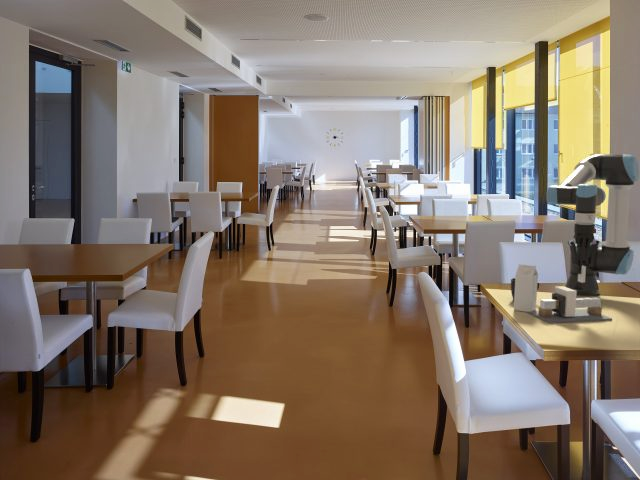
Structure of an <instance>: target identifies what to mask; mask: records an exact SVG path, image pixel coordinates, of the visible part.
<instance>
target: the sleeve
mask: <svg viewBox="0 0 640 480" xmlns="http://www.w3.org/2000/svg"><path fill="white" fill-rule="evenodd" d="M553 293H557V294H560V295H563V296H565V297H566V302H565V315H563V316H565V317H570V316H575V310H576V309H577V308H576V298H577V294H576V293H577V291H576V290H573V289H570V288H567V287H565V285H564V286H563V285H562V286H554V292H553ZM557 299H558V298H557Z"/></svg>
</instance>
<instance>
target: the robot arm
mask: <svg viewBox="0 0 640 480" xmlns="http://www.w3.org/2000/svg"><path fill="white" fill-rule="evenodd" d="M639 175H640V166H639V161H638V158H637V157H636V155H634V154H626V153H621V154H620V153H619V154H618V153H614V154H613V153H612V154H610V153H609V154H607V153H605V154H604V153H598V154H593V155H590V156H588V157H586V158H583V159H582V160H581V161H579V162H578V163H577V164H576V165H575V167H574V168H573V171H572V172H571V173H570V174H569V175H568V176H567V177H566V178H565V179H564V180H563V181H562V182H561V183H560V184H558V185H550V186H548V188H547V191H546V202H547V203H549V204H552V205H565V206H569V205H571V206H575V211H574V212H575V213H574V222H575V223H574V229H573V232H574V236H573V237H572V239H571V240H568V241H567V244H568V246H569V249H570V257H569V258H570V259H569V261H570V262H569V276H568V278H567V279H566V282H565V284H564V287H567V288H570V289H573V290H576V291H577V293H576V296H577V295H580V296H598V294H600V288H599V284H598V280H597V273H603V274H613V275H624V276H625V275H627V274H628V273H629V272H630V270H631V267H632V264H633V261H634V250H632V248H631V246H630V244H629V243H628V241H627V238H628V221H629V205H630V190H631V189H632V188H633V186H634V185H635V182H637V181H638V180H639ZM594 180H596V181H597V180H598V181H605V186H606V187H607V188H608V199H607V214H606V217H607V218H606V229H605V231H606V233H605V241H603V242H602V244H601V246H599V244H600V242H601V241H600V240H598V239H596V238H595V235H594V234H595V232H596V231H595V230H596V229H595V228H596V225H595V223H596V215H597V214H596V212H597V207H598V206H600V205H602V204H603V203H604V202H605V200H606V198H607V195H606V191H605V190H604V189H602V188H601V187H598V186H597V185H596V184H593V183H588V182H592V181H594ZM630 248H631V249H630Z"/></svg>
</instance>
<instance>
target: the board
mask: <svg viewBox="0 0 640 480" xmlns="http://www.w3.org/2000/svg"><path fill="white" fill-rule="evenodd" d="M587 309H588V308H580V309H579V308H576V309H575V316H570V317H565V316H563V315H560V314H558V313H556V312H553V311H552V317H551V318H544V317H542V316H540V315H538V312H539V310H534V311H530V312H528V314H529V315H531V316H533V317H536V318H537V319H540V320H543V321H545V322H546V323H548V324H564V323H566V324H567V323H568V324H569V323H582V322H583V323H584V322H589V321H590V322H606V321H605V320H610V321H613V318H612V317H610V316H607V315H604V314H602V313H601V315H592V314H590V313H587Z"/></svg>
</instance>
